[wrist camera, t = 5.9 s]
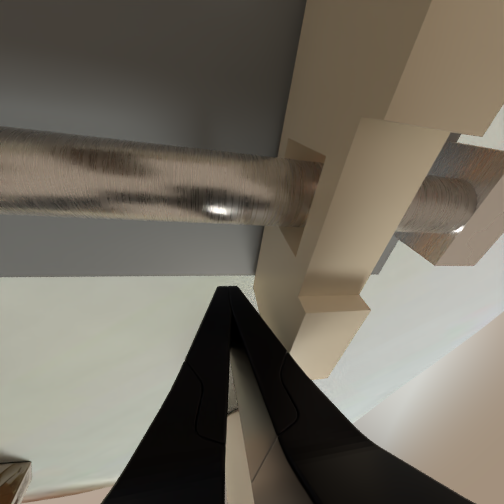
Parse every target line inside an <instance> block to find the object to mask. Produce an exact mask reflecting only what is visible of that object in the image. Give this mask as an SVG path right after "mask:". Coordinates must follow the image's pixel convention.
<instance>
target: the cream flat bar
mask: <svg viewBox="0 0 504 504" xmlns="http://www.w3.org/2000/svg"><path fill="white" fill-rule="evenodd" d="M503 104H504V0H307V2H306V7H305V12H304V18H303V23H302V28H301V34H300V39H299V44H298V50H297V55H296V61H295V66H294V71H293V77H292V82H291V87H290V93H289V98H288V103H287V109H286V114H285V119H284V125H283V130H282V135H281V141H280V146H279V151H278V157H277V158H286V159H294V160H303V161H312V162H321V163H324V165H323V169H322V172H321V175H320V178H319V182H318V185H317V188H316V192H315V195H314V198H313V202H312V205H311V208H310V212H309V215H308V218H307V221H306V225H305V227H282V226H264V232H263V237H262V242H261V248H260V253H259V258H258V264H257V269H256V274H255V280H254V285H253V289H254V293H255V297H256V301H257V305H258V309H259V313H260V316H261V317H262V319H263V320H264V321H265V322H266V324H267V325H268V326H269V328H270V329H271V330H272V332H273V333H274V334H275V335H276V337H277V338H278V339H279V341H280V342H281V343H282V345H283V346H284V347H285V348H286V350H287V352H289V353H290V355H291V356H292V357H293V359H294V360H295V361H296V363H297V364H298V365H299V366H300V368H301V369H302V370H303V371H304V372H305V374H306V375H307V376H308V377H309V378H310V379H311V380H315V379H324V378H328V376H329V375H330V373H331V372H332V370H333V369H334V367H335V365H336V364H337V362H338V361H339V359H340V358H341V356H342V355H343V353H344V351H345V350H346V348H347V347H348V345H349V344H350V342H351V341H352V339H353V337H354V336H355V334H356V333H357V331H358V330H359V328H360V327H361V325H362V323H363V322H364V320H365V319H366V317H367V316H368V314H369V312H370V311H371V309H370V308H369V307H368V306H367V304H366V303H365V302H364V300H363V299H362V298H361V297H360V295H359V294H360V292H361V290H362V289H363V287H364V285H365V283H366V282H367V280H368V278H369V276H370V275H371V273H372V271H373V269H374V267H375V266H376V264H377V262H378V260H379V259H380V257H381V255H382V253H383V252H384V250H385V248H386V246H387V244H388V243H389V241H390V239H391V237H392V236H393V234H394V232H395V230H396V229H397V227H398V225H399V223H400V221H401V220H402V218H403V216H404V214H405V213H406V211H407V209H408V207H409V206H410V204H411V202H412V200H413V198H414V197H415V195H416V193H417V191H418V190H419V188H420V186H421V184H422V183H423V181H424V179H425V177H426V175H427V174H428V172H429V170H430V168H431V167H432V165H433V163H434V161H435V160H436V158H437V156H438V154H439V152H440V151H441V149H442V147H443V145H444V144H445V142H446V140H447V138H448V137H449V135H450V133H451V132H452V133H459V134H466V135H473V136H481V137H483V135H484V133H485V132H486V130H487V129H488V127H489V126H490V124H491V123H492V121H493V119H494V118H495V116H496V115H497V113H498V112H499V110H500V109H501V107H502V105H503Z"/></svg>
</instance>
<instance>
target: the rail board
mask: <svg viewBox="0 0 504 504" xmlns="http://www.w3.org/2000/svg"><path fill="white" fill-rule="evenodd" d="M306 2H307V0H0V126H6V127H15V128H24V129H33V130H41V131H50V132H59V133H68V134H76V135H85V136H94V137H102V138H111V139H120V140H129V141H137V142H146V143H155V144H164V145H172V146H181V147H190V148H198V149H207V150H216V151H225V152H233V153H242V154H251V155H260V156H268V157H278V151H279V146H280V141H281V135H282V130H283V125H284V119H285V114H286V109H287V103H288V98H289V93H290V87H291V82H292V77H293V71H294V66H295V61H296V55H297V50H298V44H299V39H300V34H301V28H302V23H303V18H304V12H305V7H306ZM460 135H461V134H459V133H452V132H451V133H450V135H449V137H448V138H447V140H446V141H451V142H457V140H458V139H459V137H460ZM263 232H264V226H259V225H236V224H213V223H190V222H167V221H144V220H121V219H98V218H75V217H52V216H29V215H5V214H0V277H80V276H220V275H255V274H256V269H257V264H258V258H259V253H260V248H261V242H262V237H263ZM398 240H399V239H398V238H396V237H395V236H394V235H393V236H392V237H391V239H390V241H389V243H388V244H387V246H386V248H385V250H384V252H383V253H382V255H381V257H380V259H379V260H378V262H377V264H376V266H375V267H374V269H373V271H372V273H371V274H379V272H380V271H381V269H382V267H383V266H384V264H385V262H386V261H387V259H388V257H389V255H390V254H391V252H392V250H393V249H394V247H395V245H396V244H397V242H398Z"/></svg>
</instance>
